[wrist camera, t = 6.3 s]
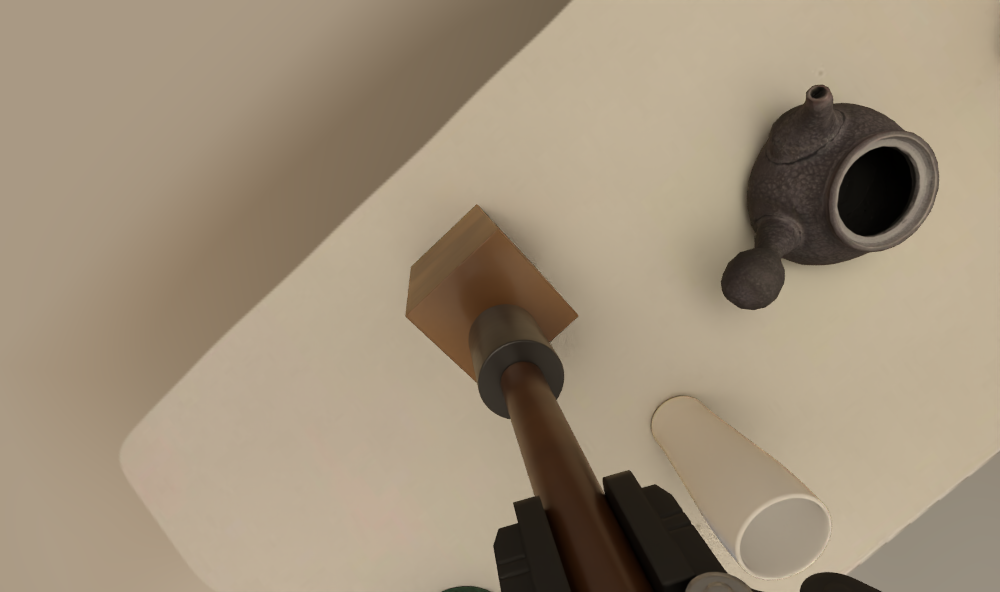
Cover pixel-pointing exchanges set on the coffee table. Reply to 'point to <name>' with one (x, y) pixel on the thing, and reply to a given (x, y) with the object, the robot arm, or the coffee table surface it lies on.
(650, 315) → the coffee table surface
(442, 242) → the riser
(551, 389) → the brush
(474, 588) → the green hollow cylinder
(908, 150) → the teapot
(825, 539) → the white tall cup
